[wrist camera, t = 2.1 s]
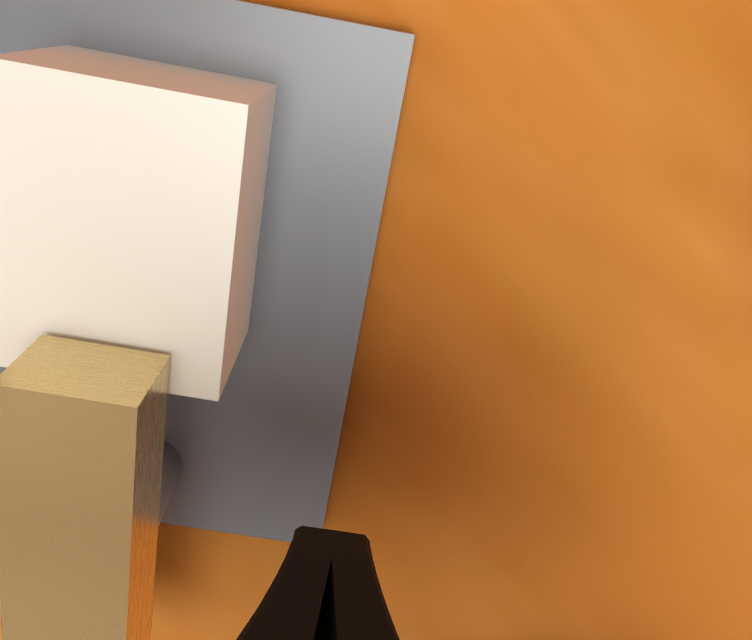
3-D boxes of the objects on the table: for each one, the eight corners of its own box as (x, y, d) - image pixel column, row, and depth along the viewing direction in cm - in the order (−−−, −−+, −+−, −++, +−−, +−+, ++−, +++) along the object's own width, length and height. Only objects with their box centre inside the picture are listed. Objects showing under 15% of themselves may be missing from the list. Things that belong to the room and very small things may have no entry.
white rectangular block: (277, 83, 16) (248, 105, 12) (248, 330, 18) (217, 401, 15) (68, 44, 15) (-17, 56, 12) (67, 300, 18) (-4, 365, 14)
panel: (413, 32, 16) (422, 43, 12) (322, 523, 22) (306, 649, 17) (-41, -55, 15) (-202, -76, 11) (-14, 472, 21) (-114, 589, 17)
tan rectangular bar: (169, 355, 14) (137, 407, 12) (144, 728, 19) (117, 808, 17) (41, 334, 14) (-11, 384, 12) (46, 715, 18) (9, 794, 17)
